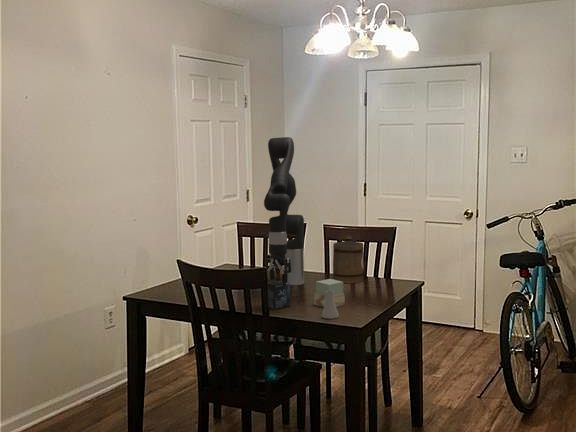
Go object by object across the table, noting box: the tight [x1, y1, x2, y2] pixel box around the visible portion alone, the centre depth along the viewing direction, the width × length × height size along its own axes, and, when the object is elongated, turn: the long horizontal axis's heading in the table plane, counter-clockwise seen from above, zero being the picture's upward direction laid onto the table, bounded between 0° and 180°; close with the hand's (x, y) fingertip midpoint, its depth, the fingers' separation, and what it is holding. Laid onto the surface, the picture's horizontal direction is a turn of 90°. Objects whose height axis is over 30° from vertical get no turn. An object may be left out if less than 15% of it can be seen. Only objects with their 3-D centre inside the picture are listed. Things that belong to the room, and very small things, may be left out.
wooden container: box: [332, 235, 365, 284], centre depth 316 cm, size 15×15×22 cm
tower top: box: [315, 278, 344, 296], centre depth 271 cm, size 8×8×5 cm
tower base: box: [313, 292, 346, 308], centre depth 272 cm, size 9×9×5 cm
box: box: [267, 279, 291, 310], centre depth 269 cm, size 8×6×11 cm
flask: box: [320, 291, 340, 320], centre depth 253 cm, size 7×7×10 cm
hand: (278, 281), depth 268 cm, fingers open, 8 cm apart
